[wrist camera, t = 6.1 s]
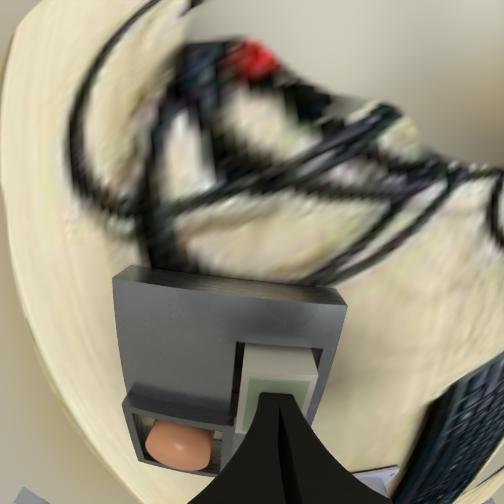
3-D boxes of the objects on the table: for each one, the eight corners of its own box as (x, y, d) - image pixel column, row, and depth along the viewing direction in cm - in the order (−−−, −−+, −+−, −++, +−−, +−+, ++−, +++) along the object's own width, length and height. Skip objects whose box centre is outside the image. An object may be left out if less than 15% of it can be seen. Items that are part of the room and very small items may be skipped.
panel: (286, 460, 16) (288, 492, 13) (152, 442, 16) (141, 471, 13) (335, 288, 13) (354, 316, 10) (130, 265, 13) (101, 285, 10)
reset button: (215, 440, 15) (209, 474, 12) (162, 430, 15) (150, 462, 12) (216, 404, 14) (209, 443, 11) (156, 394, 14) (140, 428, 11)
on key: (293, 397, 14) (298, 438, 11) (239, 393, 14) (234, 434, 11) (308, 338, 13) (318, 377, 10) (246, 333, 13) (242, 371, 10)
